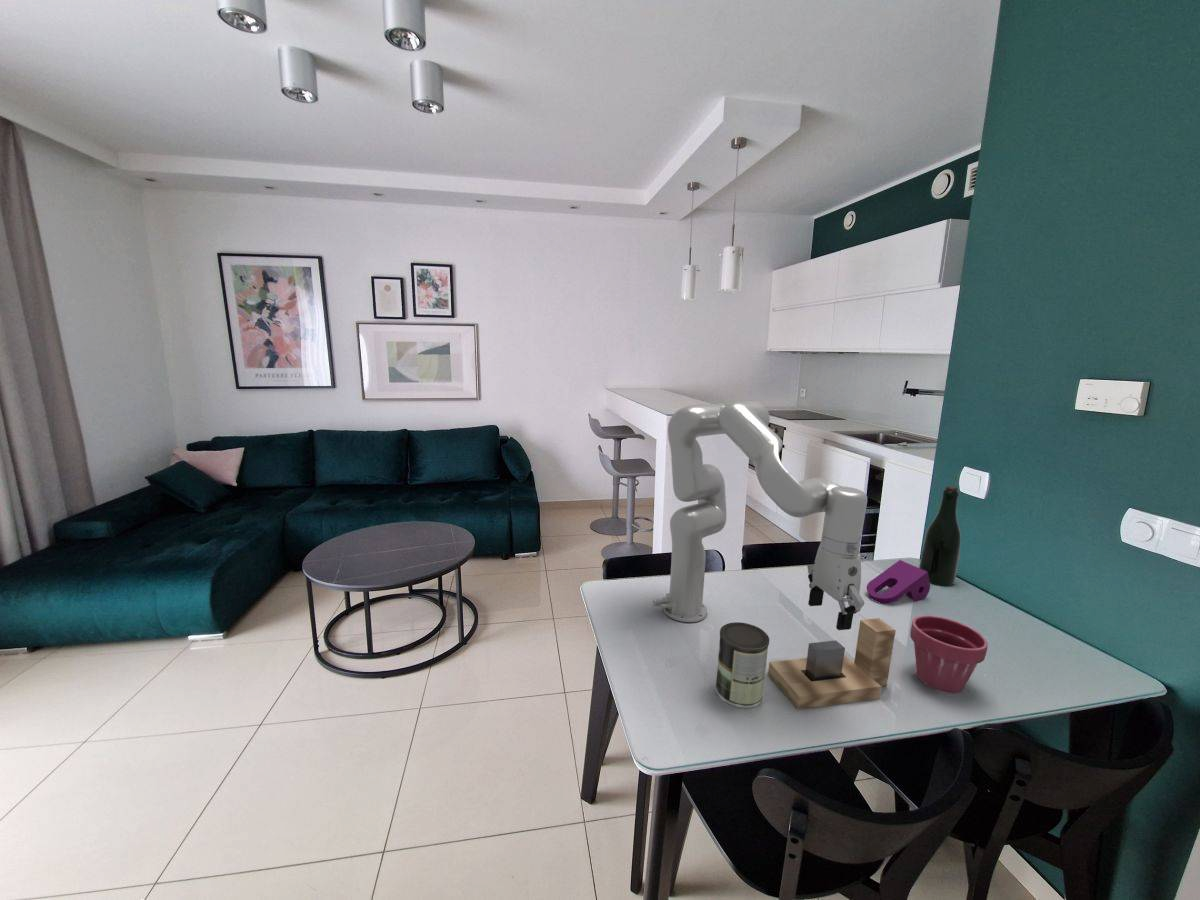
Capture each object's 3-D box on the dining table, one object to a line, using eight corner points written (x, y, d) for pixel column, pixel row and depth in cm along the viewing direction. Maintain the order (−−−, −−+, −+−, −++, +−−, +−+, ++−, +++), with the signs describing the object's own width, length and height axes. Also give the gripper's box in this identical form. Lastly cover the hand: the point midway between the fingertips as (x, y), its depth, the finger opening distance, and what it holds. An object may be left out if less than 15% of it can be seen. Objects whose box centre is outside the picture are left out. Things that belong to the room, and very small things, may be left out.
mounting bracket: (890, 624, 151) (932, 592, 155) (885, 603, 148) (927, 571, 152) (864, 608, 159) (904, 579, 163) (859, 588, 157) (900, 559, 161)
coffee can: (706, 693, 108) (711, 635, 105) (727, 671, 116) (732, 616, 113) (752, 716, 102) (758, 655, 99) (770, 691, 110) (776, 633, 107)
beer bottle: (953, 578, 170) (969, 486, 164) (955, 589, 161) (973, 493, 155) (917, 570, 176) (932, 481, 169) (917, 581, 167) (933, 487, 161)
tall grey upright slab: (812, 691, 110) (817, 651, 108) (804, 682, 113) (808, 643, 111) (839, 687, 111) (845, 647, 109) (830, 679, 114) (835, 640, 112)
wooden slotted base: (798, 709, 104) (805, 649, 101) (767, 673, 116) (773, 619, 113) (898, 695, 109) (908, 638, 107) (860, 662, 121) (868, 610, 118)
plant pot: (983, 682, 115) (993, 632, 112) (970, 711, 105) (981, 657, 103) (913, 654, 125) (921, 608, 122) (896, 678, 115) (904, 628, 113)
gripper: (885, 561, 98) (871, 638, 102) (829, 529, 114) (819, 596, 118) (852, 562, 96) (839, 640, 100) (800, 530, 113) (791, 598, 117)
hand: (828, 616), depth 109 cm, fingers open, 9 cm apart
